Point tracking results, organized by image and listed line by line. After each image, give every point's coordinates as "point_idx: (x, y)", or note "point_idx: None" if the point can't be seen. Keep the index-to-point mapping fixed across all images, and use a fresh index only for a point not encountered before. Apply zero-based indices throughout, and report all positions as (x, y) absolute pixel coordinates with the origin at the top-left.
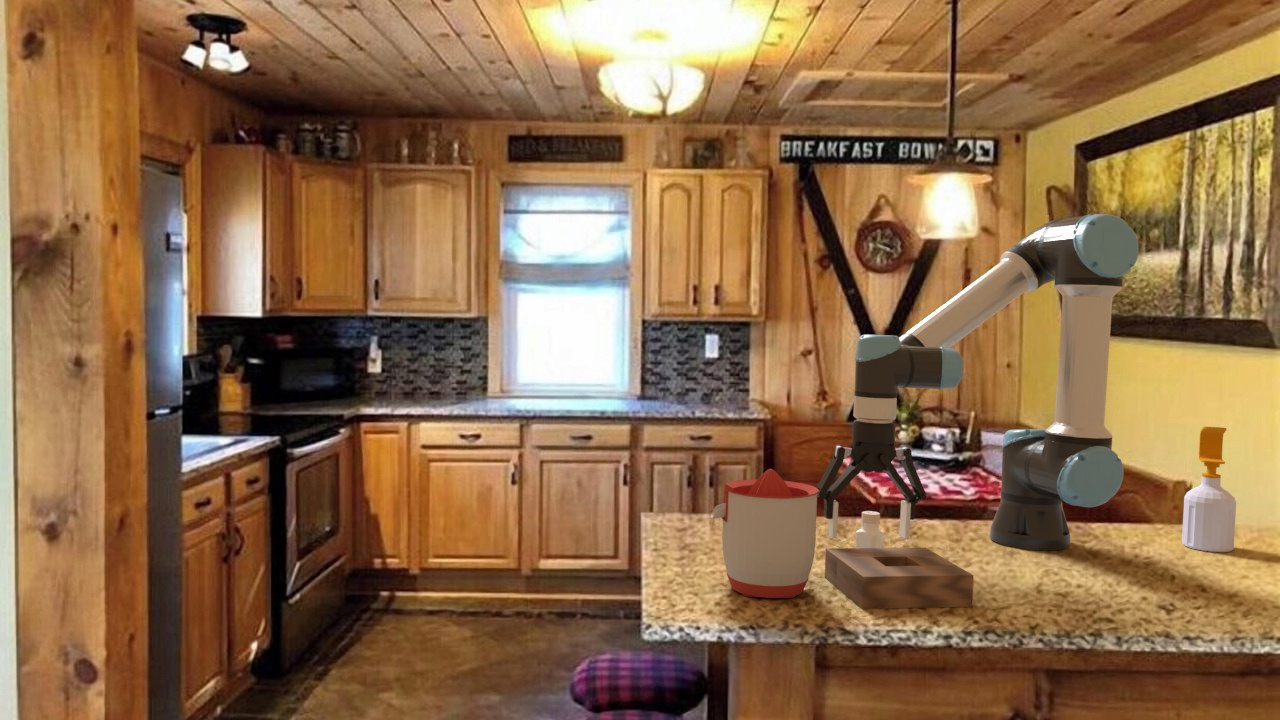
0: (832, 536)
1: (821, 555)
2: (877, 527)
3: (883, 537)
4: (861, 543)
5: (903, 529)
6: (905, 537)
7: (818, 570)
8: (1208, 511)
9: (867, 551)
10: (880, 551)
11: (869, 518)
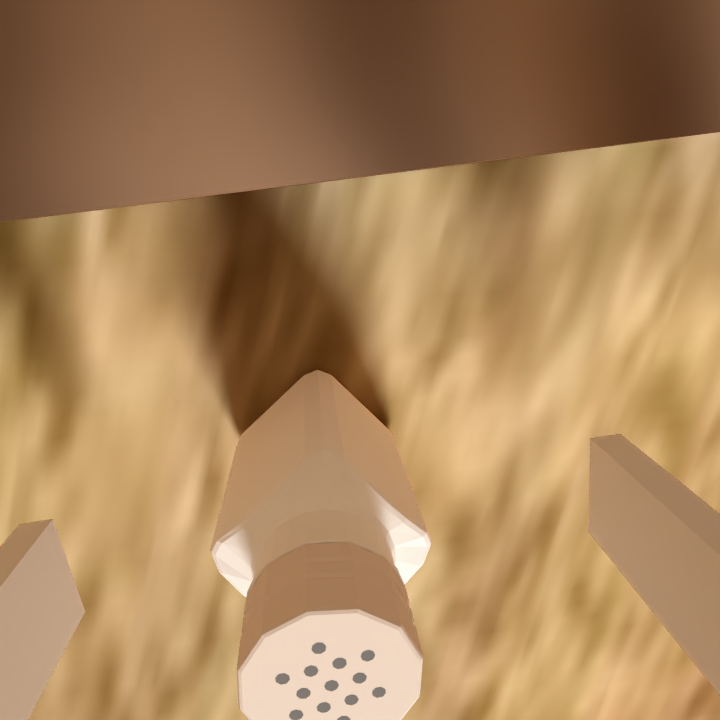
0: (626, 445)
1: (514, 576)
2: (275, 541)
3: (224, 514)
4: (388, 466)
5: (34, 598)
6: (45, 524)
7: (624, 293)
8: None
9: (475, 31)
10: (356, 36)
11: (362, 581)
